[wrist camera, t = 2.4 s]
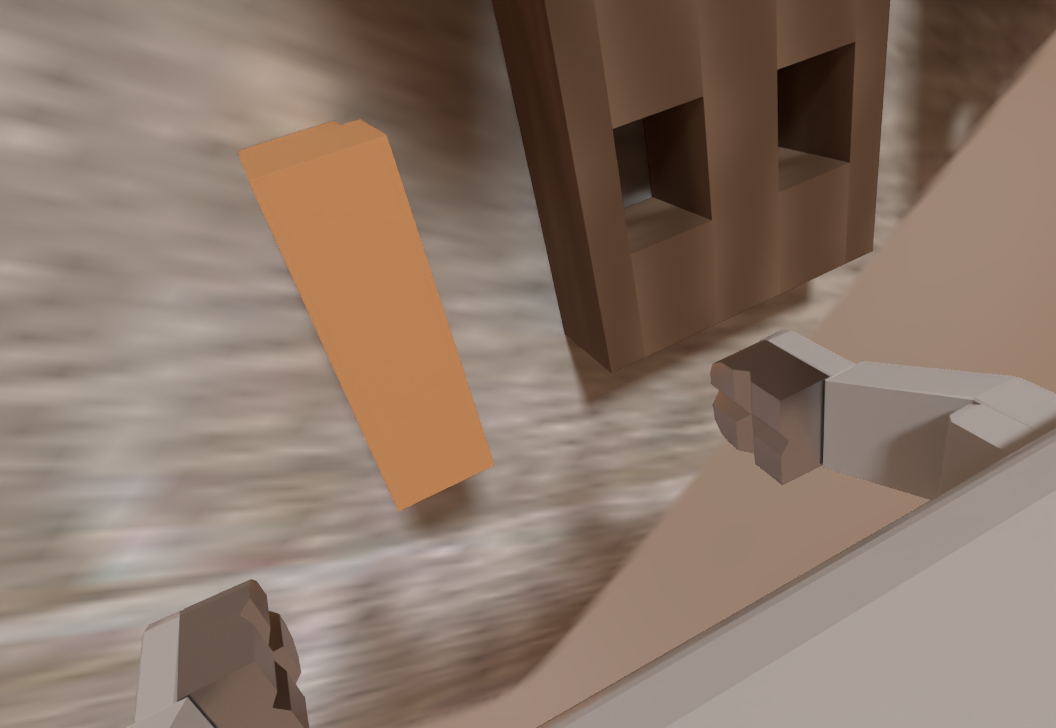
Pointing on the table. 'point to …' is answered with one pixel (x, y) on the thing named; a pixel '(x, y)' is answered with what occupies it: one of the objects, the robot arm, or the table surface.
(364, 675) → the table surface
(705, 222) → the block with square holes
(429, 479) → the tan two-pronged block
